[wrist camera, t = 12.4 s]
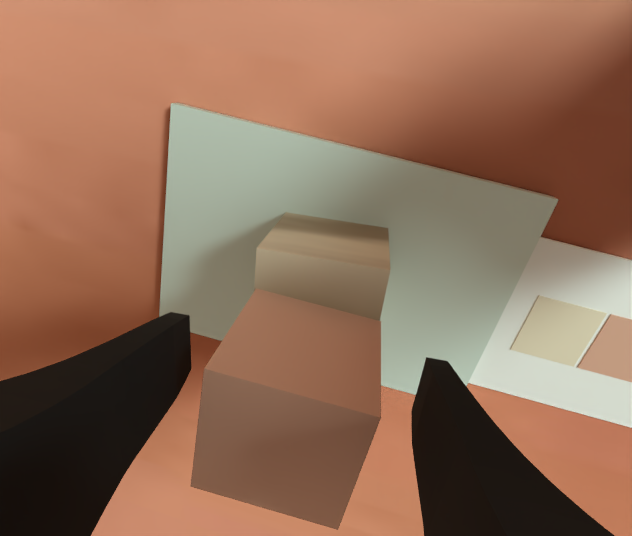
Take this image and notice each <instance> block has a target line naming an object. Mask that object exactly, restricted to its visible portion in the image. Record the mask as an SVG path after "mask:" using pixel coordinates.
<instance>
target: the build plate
mask: <svg viewBox="0 0 632 536" xmlns="http://www.w3.org/2000/svg"><path fill="white" fill-rule="evenodd" d="M557 202H558V199H556V198H555V197H553V196H550V195H546V194H542V193H538V192H534V191H530V190H526V189H522V188H518V187H514V186H510V185H506V184H502V183H498V182H494V181H490V180H486V179H481V178H477V177H473V176H469V175H465V174H461V173H457V172H453V171H449V170H445V169H441V168H437V167H433V166H429V165H425V164H421V163H417V162H413V161H409V160H405V159H401V158H397V157H393V156H389V155H385V154H381V153H377V152H373V151H369V150H365V149H361V148H357V147H353V146H349V145H345V144H341V143H337V142H333V141H329V140H325V139H321V138H317V137H313V136H309V135H305V134H301V133H297V132H293V131H289V130H285V129H281V128H277V127H273V126H269V125H265V124H261V123H257V122H253V121H249V120H245V119H241V118H237V117H233V116H229V115H225V114H221V113H217V112H213V111H209V110H205V109H201V108H197V107H193V106H189V105H185V104H181V103H171V112H170V130H169V148H168V166H167V184H166V202H165V220H164V238H163V256H162V274H161V291H160V309H159V317H160V316H162V315H165V314H167V313H170V312H174V313H179V314H185V315H190V332H191V333H195V334H198V335H202V336H206V337H209V338H213V339H216V340H220V341H222V340H223V339H224V337H225V336H226V334H227V333H228V331H229V329H230V328H231V326H232V325H233V323H234V322H235V320H236V319H237V317H238V316H239V314H240V312H241V311H242V309H243V308H244V306H245V305H246V303H247V302H248V300H249V299H250V297H251V296H252V294H253V292H254V284H255V266H256V248H257V247H258V246H259V244H260V243H261V242H262V241H263V240H264V238H265V237H266V236H267V235H268V233H269V232H270V231H271V230H272V229H273V227H274V226H275V225H276V224H277V222H278V221H279V220H280V219H281V218H282V216H283V215H284V214H285V213H286V212H287V213H294V214H300V215H307V216H313V217H320V218H326V219H333V220H339V221H346V222H352V223H358V224H365V225H371V226H378V227H384V228H388V234H389V253H390V275H389V279H388V284H387V289H386V293H385V298H384V303H383V308H382V312H381V317H380V321H381V385H382V386H385V387H389V388H393V389H396V390H400V391H403V392H407V393H411V394H414V395H416V393H417V389H418V386H419V382H420V378H421V375H422V371H423V367H424V364H425V360H426V357H428V358H433V359H439V360H445V361H448V362H449V363H450V365H451V366H452V368H453V369H454V370H455V372H456V373H457V374H458V376H459V377H460V379H461V380H462V381H463V383H464V384H465V386H467V384H468V382H469V380H470V378H471V376H472V374H473V372H474V370H475V368H476V366H477V364H478V362H479V360H480V358H481V356H482V354H483V352H484V350H485V348H486V346H487V344H488V342H489V340H490V338H491V336H492V334H493V332H494V330H495V328H496V325H497V323H498V321H499V319H500V317H501V315H502V313H503V311H504V309H505V307H506V305H507V303H508V301H509V299H510V297H511V295H512V293H513V291H514V289H515V287H516V285H517V283H518V281H519V279H520V277H521V275H522V273H523V271H524V269H525V267H526V265H527V263H528V261H529V259H530V257H531V255H532V253H533V251H534V249H535V247H536V245H537V243H538V241H539V239H540V237H541V235H542V233H543V230H544V228H545V226H546V224H547V222H548V220H549V218H550V216H551V214H552V212H553V210H554V208H555V206H556V204H557Z"/></svg>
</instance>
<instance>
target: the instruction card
mask: <svg viewBox="0 0 632 536" xmlns="http://www.w3.org/2000/svg"><path fill="white" fill-rule="evenodd" d="M468 383H471V384H474V385H478V386H482V387H485V388H489V389H493V390H496V391H500V392H504V393H507V394H511V395H514V396H518V397H522V398H525V399H529V400H533V401H536V402H540V403H544V404H547V405H551V406H554V407H558V408H562V409H565V410H569V411H573V412H576V413H580V414H584V415H587V416H591V417H595V418H598V419H602V420H605V421H609V422H613V423H616V424H620V425H624V426H627V427H631V428H632V260H630V259H627V258H623V257H619V256H615V255H611V254H607V253H603V252H599V251H595V250H591V249H587V248H583V247H579V246H575V245H572V244H568V243H564V242H560V241H556V240H552V239H548V238H544V237H540V239H539V241H538V243H537V245H536V247H535V249H534V251H533V253H532V255H531V257H530V259H529V261H528V263H527V265H526V267H525V269H524V271H523V273H522V275H521V277H520V279H519V281H518V283H517V285H516V287H515V289H514V291H513V293H512V295H511V297H510V299H509V301H508V303H507V305H506V307H505V309H504V311H503V313H502V315H501V317H500V319H499V321H498V323H497V325H496V328H495V330H494V332H493V334H492V336H491V338H490V340H489V342H488V344H487V346H486V348H485V350H484V352H483V354H482V356H481V358H480V360H479V362H478V364H477V366H476V368H475V370H474V372H473V374H472V376H471V378H470V380H469V382H468Z"/></svg>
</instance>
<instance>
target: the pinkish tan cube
mask: <svg viewBox="0 0 632 536" xmlns="http://www.w3.org/2000/svg"><path fill="white" fill-rule="evenodd" d="M380 419H381V321H378V320H374V319H370V318H366V317H363V316H359V315H355V314H351V313H348V312H344V311H340V310H336V309H332V308H329V307H325V306H321V305H317V304H314V303H310V302H306V301H302V300H299V299H295V298H291V297H287V296H283V295H280V294H276V293H272V292H268V291H265V290H261V289H257V288H256V289H255V291H254V292H253V294H252V296H251V297H250V299H249V300H248V302H247V303H246V305H245V306H244V308H243V309H242V311H241V312H240V314H239V316H238V317H237V319H236V320H235V322H234V323H233V325H232V326H231V328H230V329H229V331H228V333H227V334H226V336H225V337H224V339H223V340H222V342H221V343H220V345H219V346H218V348H217V350H216V351H215V353H214V354H213V356H212V357H211V359H210V360H209V362H208V363H207V365H206V366H205V368H204V374H203V383H202V392H201V400H200V409H199V418H198V426H197V435H196V444H195V453H194V461H193V470H192V479H191V487H194V488H197V489H201V490H204V491H208V492H211V493H215V494H218V495H221V496H225V497H228V498H232V499H235V500H238V501H242V502H245V503H249V504H252V505H255V506H259V507H262V508H266V509H269V510H272V511H276V512H279V513H283V514H286V515H289V516H293V517H296V518H300V519H303V520H306V521H310V522H313V523H317V524H320V525H323V526H327V527H330V528H334V529H337V530H338V528H339V526H340V523H341V520H342V518H343V515H344V513H345V510H346V507H347V505H348V502H349V500H350V497H351V494H352V492H353V489H354V486H355V484H356V481H357V479H358V476H359V473H360V471H361V468H362V466H363V463H364V460H365V458H366V455H367V453H368V450H369V447H370V445H371V442H372V440H373V437H374V434H375V432H376V429H377V427H378V424H379V421H380Z"/></svg>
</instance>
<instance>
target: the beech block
mask: <svg viewBox="0 0 632 536" xmlns="http://www.w3.org/2000/svg"><path fill="white" fill-rule="evenodd" d="M389 275H390V253H389V234H388V228H384V227H378V226H371V225H365V224H358V223H352V222H346V221H339V220H333V219H326V218H320V217H313V216H307V215H300V214H294V213H287V212H286V213H285V214H284V215H283V216H282V218H281V219H280V220H279V221H278V222H277V224H276V225H275V226H274V227H273V229H272V230H271V231H270V232H269V233H268V235H267V236H266V237H265V238H264V240H263V241H262V242H261V243H260V244H259V246H258V247H257V248H256V266H255V284H254V291H255V289H256V288H257V289H261V290H265V291H268V292H272V293H276V294H280V295H283V296H287V297H291V298H295V299H299V300H302V301H306V302H310V303H314V304H317V305H321V306H325V307H329V308H332V309H336V310H340V311H344V312H348V313H351V314H355V315H359V316H363V317H366V318H370V319H374V320H378V321H380V317H381V312H382V308H383V303H384V298H385V293H386V289H387V284H388V279H389Z"/></svg>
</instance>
